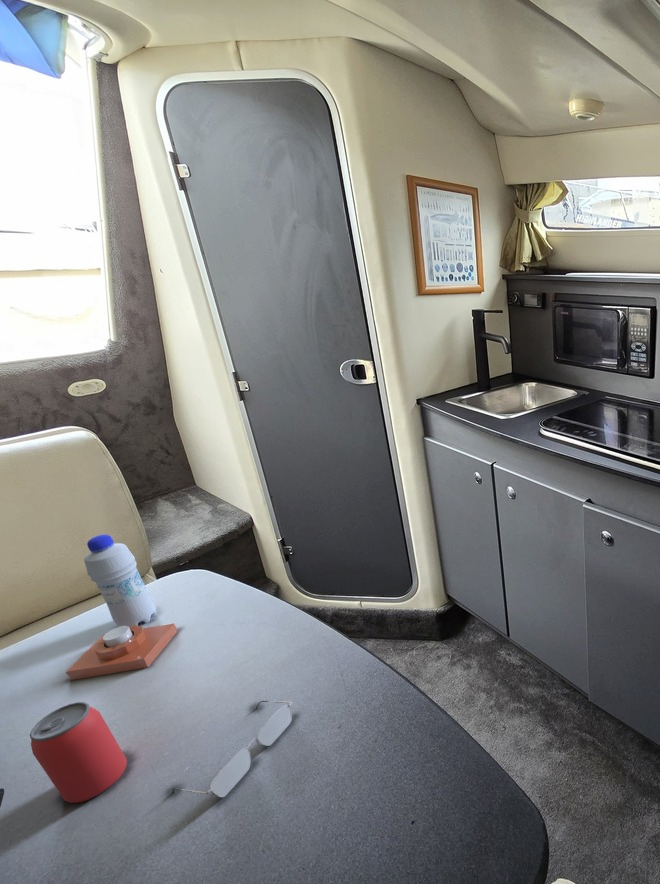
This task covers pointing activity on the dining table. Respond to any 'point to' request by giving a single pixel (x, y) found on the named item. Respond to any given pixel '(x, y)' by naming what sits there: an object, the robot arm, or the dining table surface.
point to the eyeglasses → (242, 759)
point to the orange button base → (123, 652)
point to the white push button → (117, 636)
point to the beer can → (77, 751)
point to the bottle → (119, 581)
